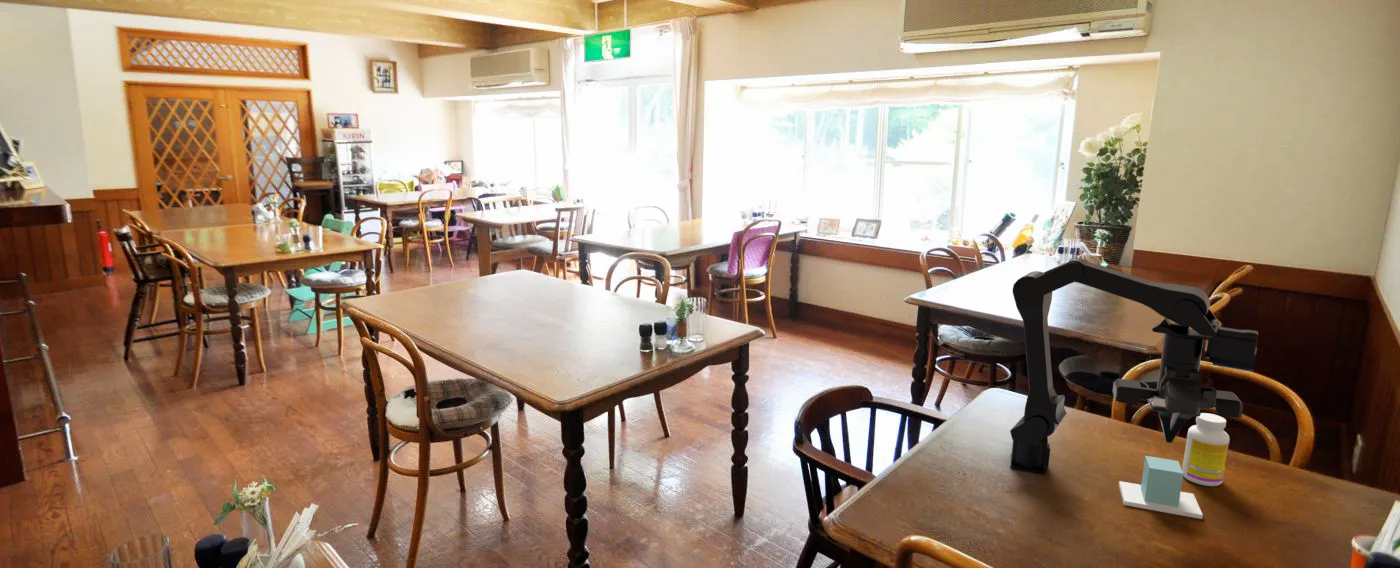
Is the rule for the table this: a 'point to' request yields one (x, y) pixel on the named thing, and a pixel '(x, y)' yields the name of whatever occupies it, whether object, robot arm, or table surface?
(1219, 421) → the supplement bottle
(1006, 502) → the table surface
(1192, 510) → the post stand
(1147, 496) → the teal rectangular block
